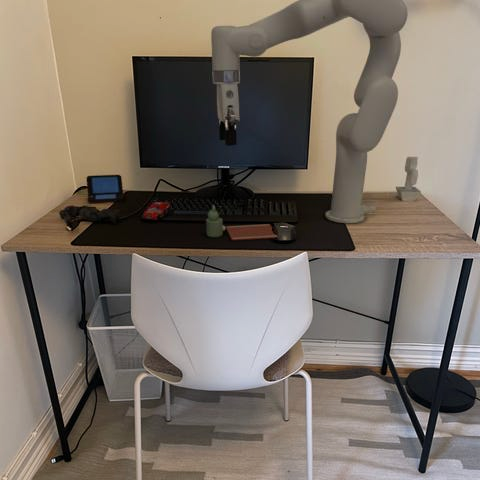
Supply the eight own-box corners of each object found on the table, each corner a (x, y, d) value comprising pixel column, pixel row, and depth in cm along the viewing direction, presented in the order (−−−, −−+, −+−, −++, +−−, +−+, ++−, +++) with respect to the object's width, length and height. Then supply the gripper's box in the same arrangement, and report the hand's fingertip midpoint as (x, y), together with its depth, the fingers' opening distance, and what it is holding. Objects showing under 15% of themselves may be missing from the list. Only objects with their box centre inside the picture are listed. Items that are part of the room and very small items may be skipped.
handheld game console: (87, 203, 171) (84, 182, 168) (89, 196, 181) (85, 175, 177) (124, 201, 174) (121, 180, 170) (123, 194, 183) (121, 174, 180)
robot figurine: (129, 215, 161) (73, 210, 165) (128, 202, 159) (72, 197, 162) (105, 233, 146) (45, 226, 149) (104, 219, 144) (42, 212, 147)
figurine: (400, 202, 175) (407, 159, 168) (393, 195, 183) (399, 154, 176) (420, 202, 175) (428, 159, 168) (412, 195, 184) (419, 154, 176)
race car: (155, 222, 153) (154, 210, 152) (140, 221, 155) (139, 208, 153) (174, 211, 164) (173, 199, 162) (159, 209, 166) (158, 198, 164)
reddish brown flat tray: (269, 224, 152) (269, 223, 152) (279, 237, 142) (279, 236, 142) (225, 227, 150) (225, 226, 150) (231, 240, 140) (231, 239, 140)
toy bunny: (224, 231, 147) (224, 202, 143) (226, 236, 143) (226, 207, 138) (205, 232, 146) (204, 203, 142) (207, 237, 142) (206, 208, 137)
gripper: (246, 79, 128) (246, 146, 136) (233, 75, 143) (234, 137, 151) (218, 79, 127) (220, 148, 135) (208, 76, 142) (210, 138, 150)
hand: (227, 142), depth 143 cm, fingers open, 9 cm apart
